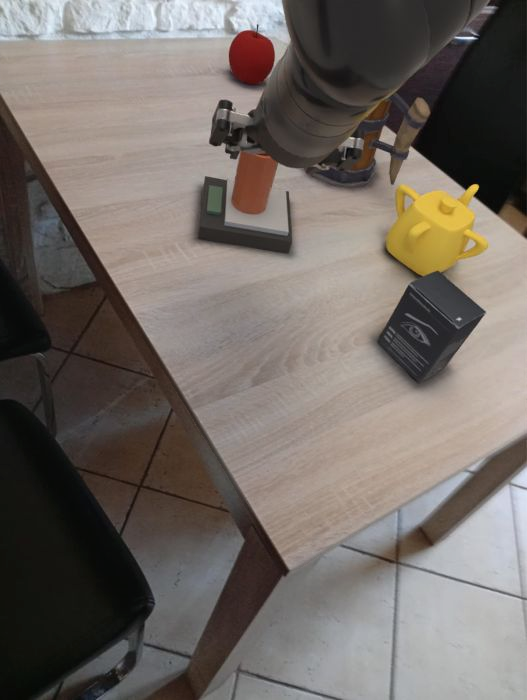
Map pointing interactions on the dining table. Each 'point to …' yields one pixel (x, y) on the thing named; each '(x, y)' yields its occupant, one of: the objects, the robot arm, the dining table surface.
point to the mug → (381, 143)
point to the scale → (244, 219)
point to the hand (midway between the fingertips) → (272, 157)
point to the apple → (251, 57)
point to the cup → (253, 182)
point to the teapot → (433, 230)
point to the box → (429, 325)
